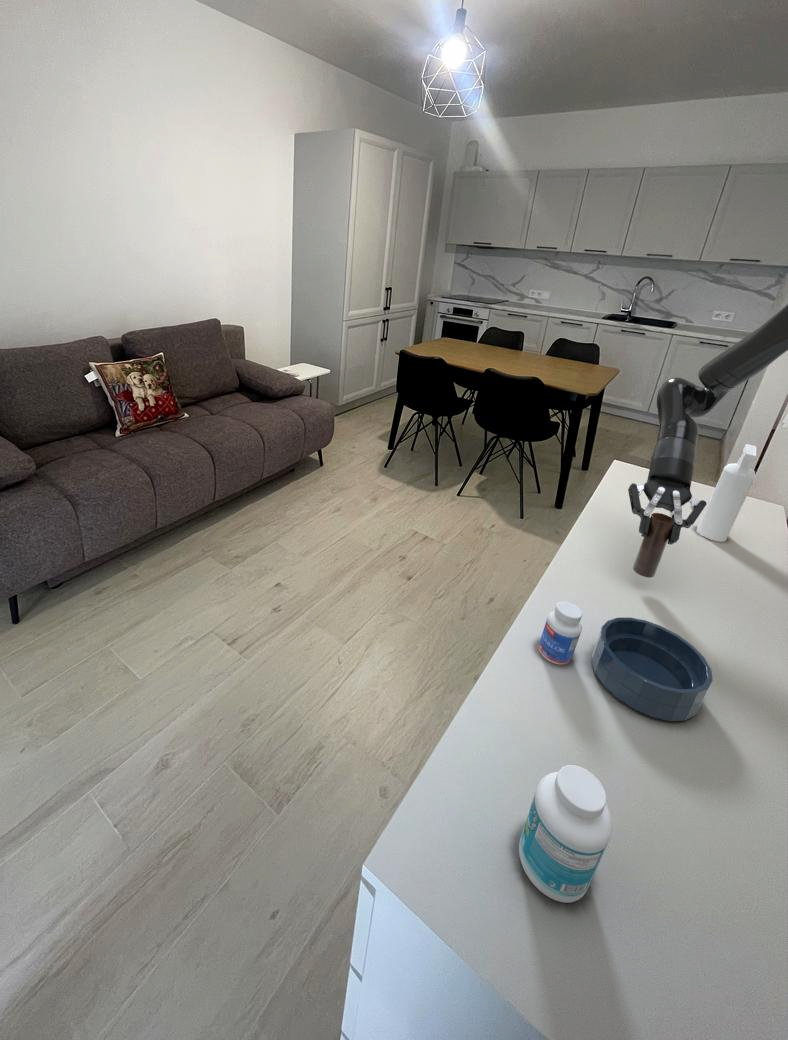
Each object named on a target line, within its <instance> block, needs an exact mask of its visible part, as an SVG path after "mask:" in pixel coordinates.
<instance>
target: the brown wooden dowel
mask: <svg viewBox="0 0 788 1040" xmlns="http://www.w3.org/2000/svg"><path fill="white" fill-rule="evenodd" d="M650 518H651V519H650V524H649V529H648V534H647V536H646V537H642V541H641V544H640V546H639V549H638V552H637V555H636V557H635V560H634V563H633V566H632V570H633V572H634V573H635V574H637V575H639V576H641V577H644V578H649V579H651V578H653V577H655V576H656V573H657V570H658V567H659V564H660V562H661V560H662V557H663V555H664V551H665V549H666V546H667V544H668V538H669V535H670V533H671V530H672V527H673V525H674V522H675V521H674V519H673V518H671V517H670V515H667V514H664V513H660V512H652V513H651V515H650Z"/></svg>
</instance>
